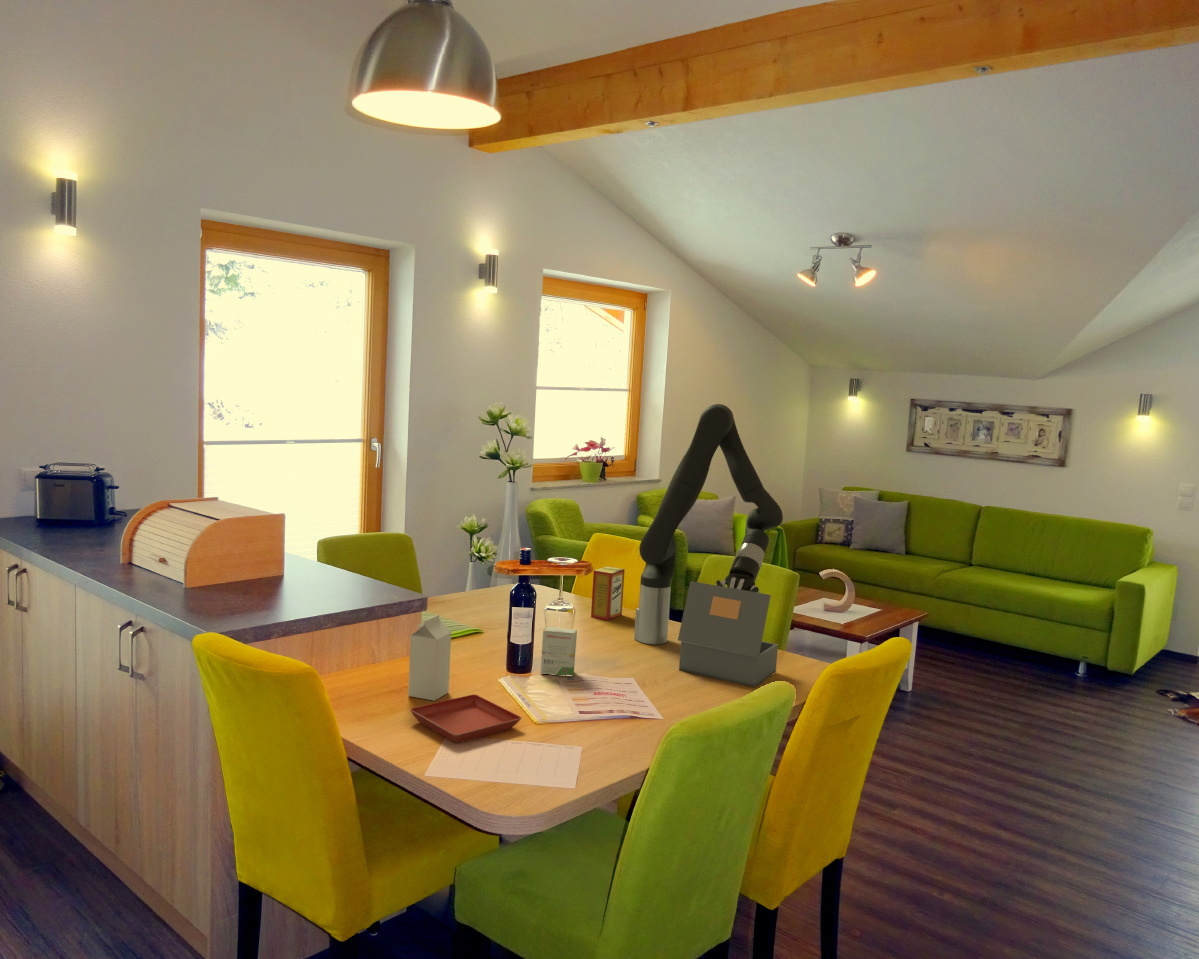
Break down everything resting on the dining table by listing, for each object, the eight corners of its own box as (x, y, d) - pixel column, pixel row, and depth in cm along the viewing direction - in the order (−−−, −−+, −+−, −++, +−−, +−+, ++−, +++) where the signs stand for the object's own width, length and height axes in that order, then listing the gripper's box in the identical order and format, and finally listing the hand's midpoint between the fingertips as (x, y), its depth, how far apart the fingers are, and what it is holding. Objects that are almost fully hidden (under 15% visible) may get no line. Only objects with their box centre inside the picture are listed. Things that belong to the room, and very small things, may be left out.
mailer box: (678, 670, 254) (680, 641, 253) (702, 656, 268) (704, 629, 267) (755, 687, 243) (757, 657, 242) (775, 672, 257) (778, 644, 256)
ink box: (539, 675, 243) (542, 630, 242) (543, 669, 248) (545, 625, 247) (572, 677, 242) (575, 633, 241) (575, 671, 247) (577, 628, 246)
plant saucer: (522, 731, 205) (523, 716, 204) (454, 749, 192) (455, 734, 192) (474, 707, 218) (475, 693, 217) (407, 723, 205) (408, 708, 205)
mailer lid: (678, 640, 253) (677, 640, 252) (691, 581, 256) (690, 580, 255) (758, 657, 241) (757, 657, 241) (770, 595, 245) (770, 594, 244)
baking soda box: (608, 620, 302) (611, 572, 300) (590, 617, 305) (593, 569, 303) (621, 615, 310) (624, 567, 308) (604, 611, 313) (607, 565, 312)
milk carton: (448, 692, 225) (452, 616, 223) (434, 701, 219) (437, 622, 217) (423, 688, 228) (426, 612, 226) (407, 696, 221) (410, 618, 219)
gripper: (722, 551, 261) (701, 602, 251) (767, 558, 254) (747, 610, 245) (728, 567, 266) (708, 617, 256) (772, 574, 259) (753, 626, 250)
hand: (727, 614), depth 251 cm, fingers closed
